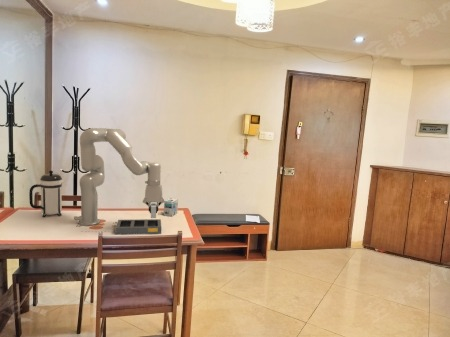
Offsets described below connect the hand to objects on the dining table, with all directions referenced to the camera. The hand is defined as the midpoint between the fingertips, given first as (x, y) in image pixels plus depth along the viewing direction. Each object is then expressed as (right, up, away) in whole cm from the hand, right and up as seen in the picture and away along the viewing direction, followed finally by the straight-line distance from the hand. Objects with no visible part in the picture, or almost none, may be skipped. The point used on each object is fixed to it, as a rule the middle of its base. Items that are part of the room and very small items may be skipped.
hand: (153, 212), depth 200 cm
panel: (0, -2, 0) cm, 2 cm away
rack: (-9, -11, 0) cm, 14 cm away
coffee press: (-73, -4, +18) cm, 76 cm away
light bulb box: (+5, -7, +36) cm, 37 cm away
